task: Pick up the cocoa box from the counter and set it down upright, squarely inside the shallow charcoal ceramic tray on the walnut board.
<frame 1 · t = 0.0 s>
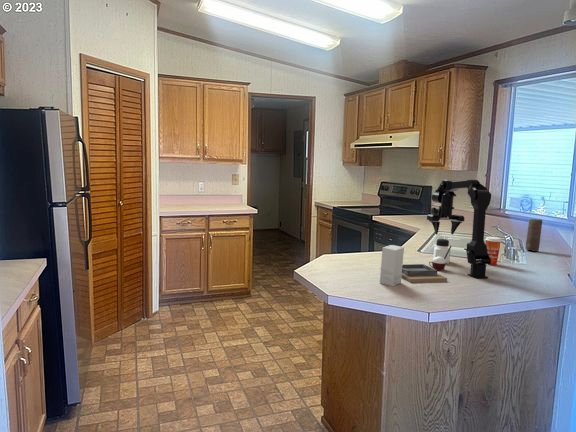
hand: (444, 234, 226), 15 cm above the counter, tool pointing down, fingers open, 9 cm apart
skincare box: (390, 283, 183), on the counter
cocoa: (438, 269, 212), on the counter
paper cup: (490, 264, 228), on the counter
medicine bottle: (440, 262, 229), on the counter
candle: (531, 251, 269), on the counter
tray stand: (415, 275, 198), on the counter
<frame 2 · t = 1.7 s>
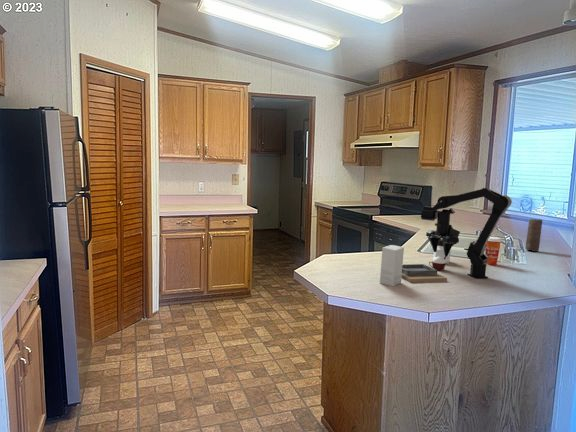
hand: (440, 254, 210), 8 cm above the counter, tool pointing down, fingers open, 9 cm apart
nothing on the counter moved.
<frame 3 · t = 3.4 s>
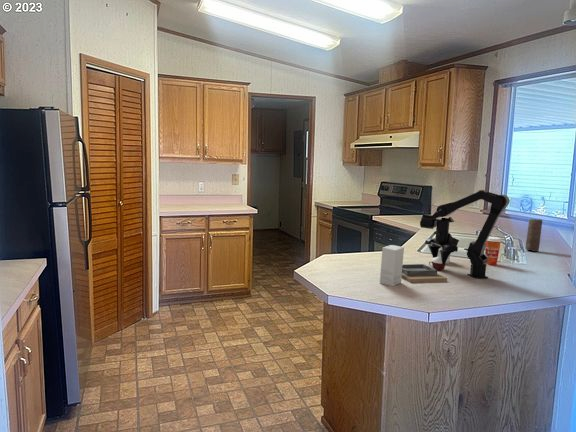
hand: (439, 262, 211), 4 cm above the counter, tool pointing down, fingers closed on cocoa, 7 cm apart
cocoa: (438, 269, 211), on the counter, touching gripper
everything else where it was.
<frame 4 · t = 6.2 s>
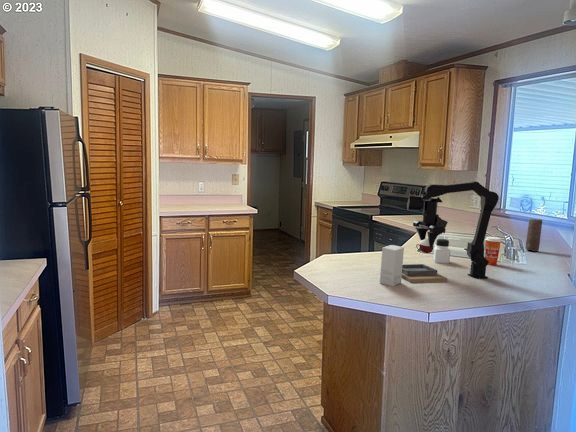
hand: (426, 244, 202), 13 cm above the counter, tool pointing down, fingers closed on cocoa, 7 cm apart
cocoa: (426, 252, 202), point 9 cm above the counter, touching gripper
everything else where it was.
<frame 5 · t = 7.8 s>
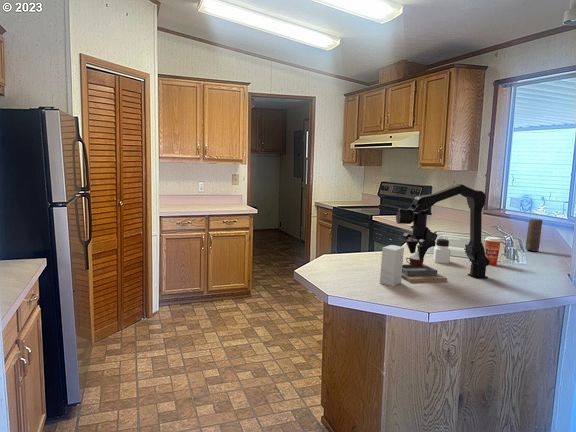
hand: (417, 258, 197), 8 cm above the counter, tool pointing down, fingers closed on cocoa, 7 cm apart
cocoa: (416, 266, 198), point 4 cm above the counter, touching gripper
everything else where it was.
when the fingers open (7 cm above the counter, at t = 8.9 s): cocoa drops 1 cm, resting on tray stand.
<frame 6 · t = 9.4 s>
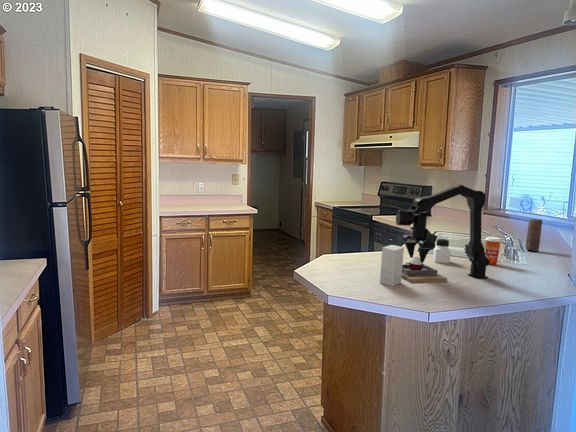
hand: (416, 259, 198), 7 cm above the counter, tool pointing down, fingers open, 9 cm apart
cocoa: (416, 271, 198), point 2 cm above the counter, touching tray stand
everything else where it was.
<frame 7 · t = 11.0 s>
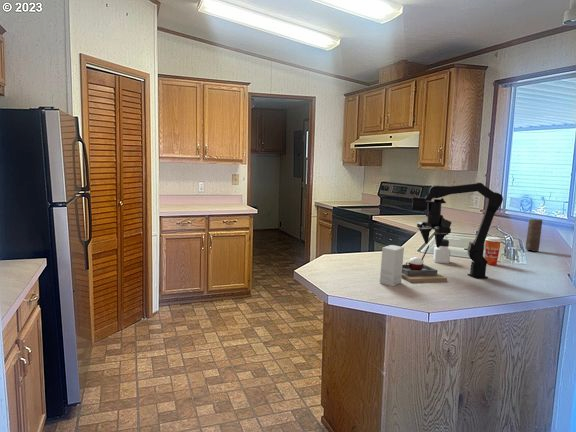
hand: (432, 245, 205), 13 cm above the counter, tool pointing down, fingers open, 9 cm apart
nothing on the counter moved.
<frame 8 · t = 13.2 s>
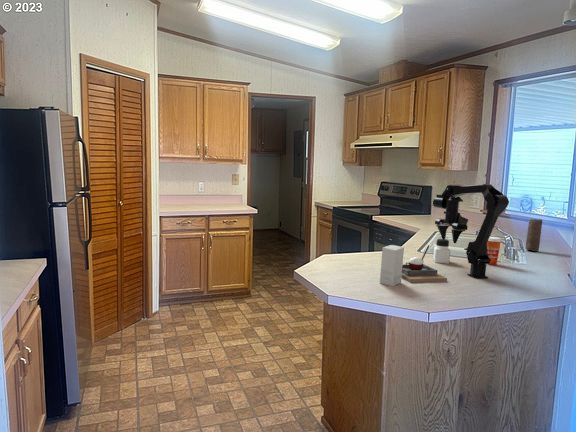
hand: (449, 241, 215), 13 cm above the counter, tool pointing down, fingers open, 9 cm apart
nothing on the counter moved.
at the end: cocoa 0.2 cm off-centre on the tray stand, point 1.9 cm above the tray stand's base; cocoa tilted 0°; the gripper is holding nothing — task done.
